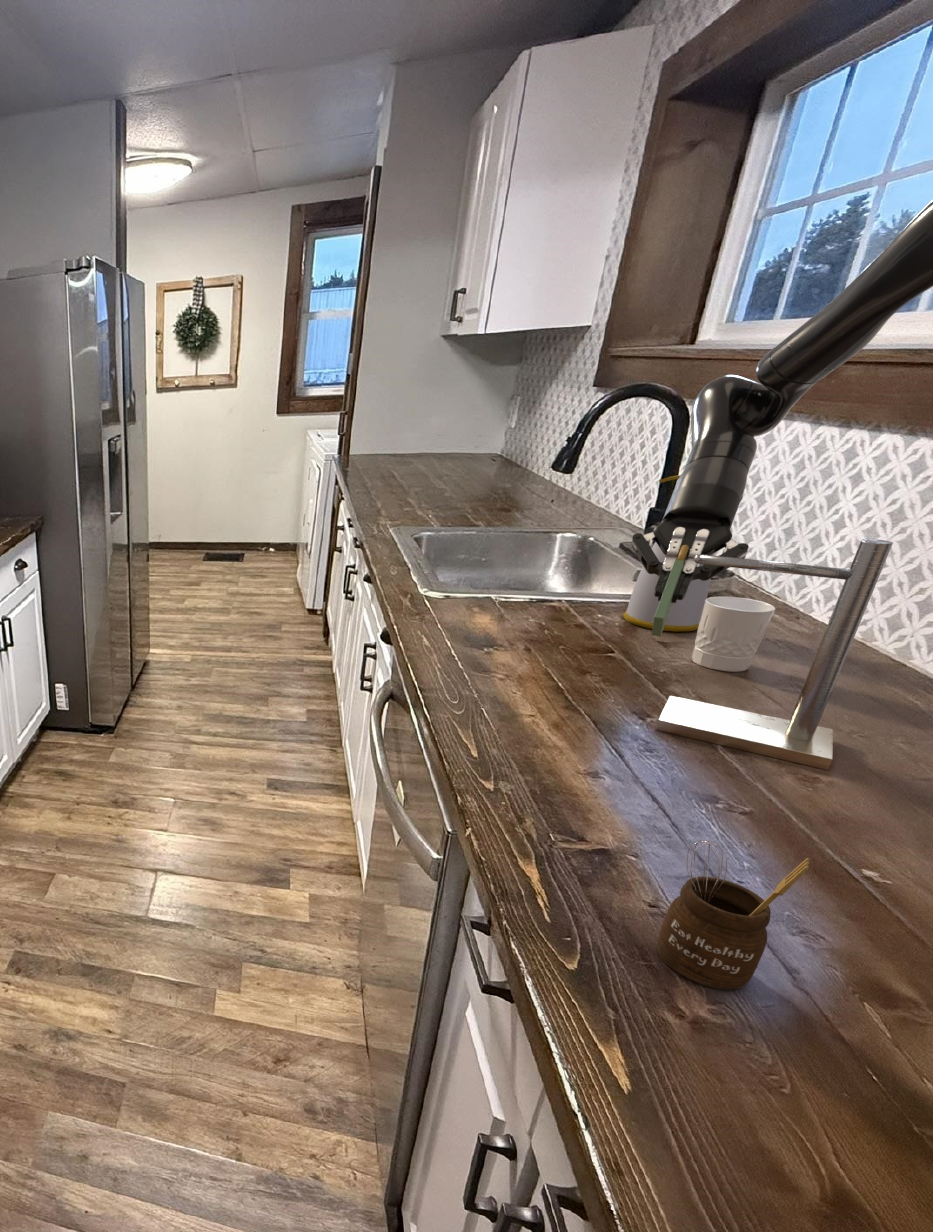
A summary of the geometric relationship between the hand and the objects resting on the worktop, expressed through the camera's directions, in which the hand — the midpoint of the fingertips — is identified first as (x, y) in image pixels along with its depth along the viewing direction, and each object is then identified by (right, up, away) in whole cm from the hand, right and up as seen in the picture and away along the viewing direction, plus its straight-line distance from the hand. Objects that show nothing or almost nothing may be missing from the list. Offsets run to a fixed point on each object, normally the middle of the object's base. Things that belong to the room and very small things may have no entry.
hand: (667, 599), depth 100 cm
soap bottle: (+26, -2, +31) cm, 41 cm away
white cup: (+20, -9, +13) cm, 26 cm away
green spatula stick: (-2, -4, 0) cm, 4 cm away
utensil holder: (-33, -34, -41) cm, 63 cm away
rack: (+3, -18, -7) cm, 19 cm away
